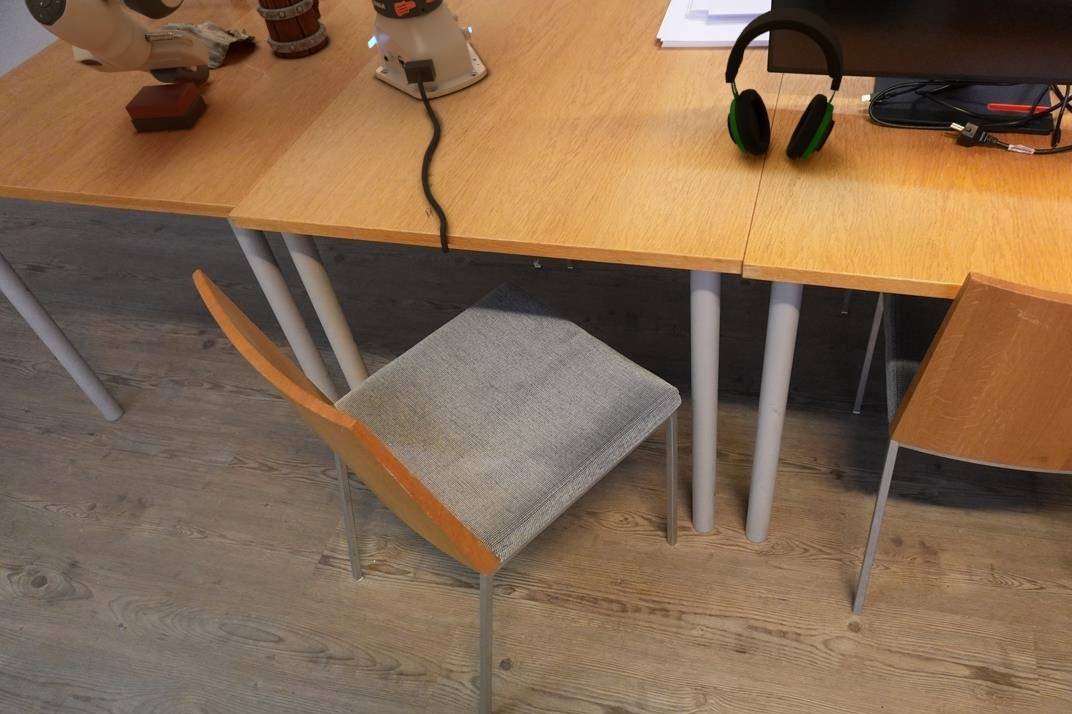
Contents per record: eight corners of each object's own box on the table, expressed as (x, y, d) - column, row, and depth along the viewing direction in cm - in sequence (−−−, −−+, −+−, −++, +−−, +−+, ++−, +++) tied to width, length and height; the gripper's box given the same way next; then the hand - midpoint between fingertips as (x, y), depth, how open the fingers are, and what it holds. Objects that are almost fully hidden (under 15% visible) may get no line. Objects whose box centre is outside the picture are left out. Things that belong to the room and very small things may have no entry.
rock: (225, 88, 153) (275, 46, 160) (210, 57, 147) (261, 14, 154) (139, 55, 159) (190, 15, 166) (121, 23, 153) (174, -16, 160)
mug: (255, 57, 153) (230, -28, 144) (303, 38, 163) (283, -43, 154) (302, 62, 150) (279, -24, 140) (348, 43, 160) (330, -39, 150)
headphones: (826, 175, 109) (846, 32, 94) (717, 164, 114) (720, 26, 99) (835, 140, 115) (855, 0, 100) (731, 131, 119) (736, -5, 104)
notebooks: (190, 128, 137) (176, 103, 133) (137, 132, 138) (122, 107, 134) (207, 106, 142) (194, 81, 139) (156, 109, 143) (142, 85, 140)
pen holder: (212, 84, 148) (181, 81, 138) (185, 87, 148) (152, 83, 139) (205, 53, 146) (173, 47, 136) (178, 55, 146) (144, 50, 137)
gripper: (178, 14, 126) (227, 46, 140) (62, 24, 128) (121, 55, 142) (181, 53, 126) (229, 82, 140) (65, 63, 128) (124, 90, 142)
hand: (174, 68), depth 141 cm, fingers closed on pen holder, 5 cm apart
